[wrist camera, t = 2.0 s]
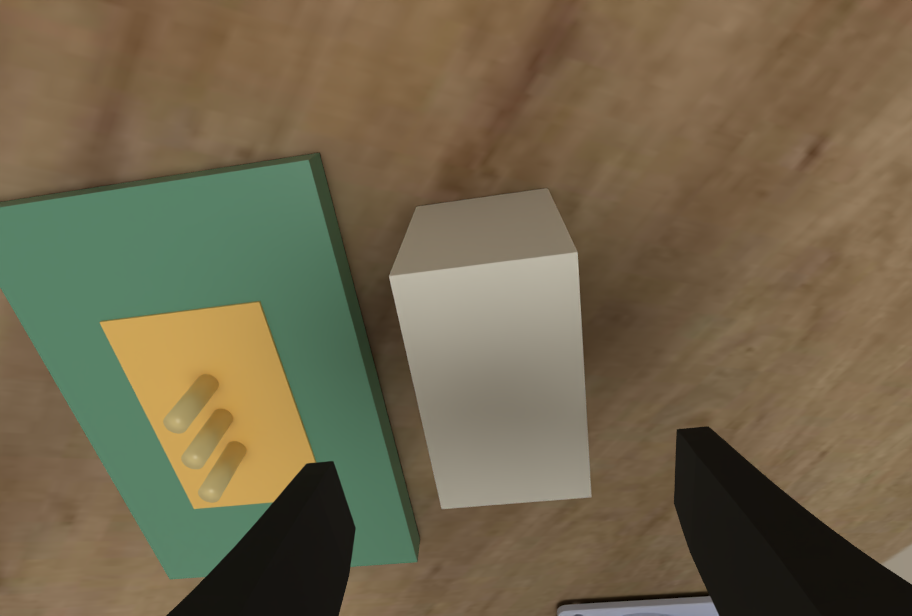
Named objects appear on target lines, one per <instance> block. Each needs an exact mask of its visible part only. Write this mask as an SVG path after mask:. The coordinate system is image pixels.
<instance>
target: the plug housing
mask: <svg viewBox="0 0 912 616" xmlns="http://www.w3.org/2000/svg"><path fill="white" fill-rule="evenodd" d="M389 279H390V283H391V287H392V292H393V296H394V301H395V305H396V310H397V314H398V318H399V323H400V327H401V332H402V336H403V340H404V345H405V349H406V354H407V358H408V363H409V367H410V371H411V376H412V380H413V385H414V389H415V393H416V398H417V402H418V407H419V411H420V416H421V420H422V424H423V429H424V433H425V438H426V442H427V446H428V451H429V455H430V460H431V464H432V469H433V473H434V477H435V482H436V486H437V491H438V495H439V499H440V504H441V508H442V509H449V508H462V507H474V506H487V505H500V504H512V503H525V502H537V501H550V500H562V499H575V498H587V497H591V482H590V464H589V447H588V429H587V411H586V393H585V375H584V358H583V340H582V322H581V304H580V286H579V269H578V252H577V250H576V248H575V246H574V243H573V241H572V239H571V237H570V235H569V233H568V231H567V228H566V226H565V224H564V222H563V220H562V218H561V216H560V213H559V211H558V209H557V207H556V205H555V203H554V201H553V198H552V196H551V194H550V192H549V190H548V188H545V189H537V190H530V191H523V192H516V193H509V194H502V195H495V196H488V197H481V198H474V199H466V200H459V201H452V202H445V203H438V204H431V205H424V206H417V207H416V209H415V211H414V214H413V216H412V219H411V222H410V224H409V227H408V229H407V232H406V234H405V237H404V239H403V242H402V244H401V247H400V249H399V252H398V254H397V257H396V260H395V262H394V265H393V267H392V270H391V272H390V275H389Z"/></svg>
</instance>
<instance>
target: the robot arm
mask: <svg viewBox="0 0 912 616" xmlns="http://www.w3.org/2000/svg"><path fill="white" fill-rule="evenodd" d="M674 505H675V508H676V511H677V514H678V517H679V520H680V524H681V527H682V530H683V533H684V536H685V539H686V542H687V545H688V547H689V550H690V553H691V555H692V558H693V560H694V562H695V564H696V567H697V569H698V571H699V573H700V575H701V578H702V580H703V582H704V584H705V586H706V589H707V591H708V593H709V595H710V596H703V597H686V598H670V599H653V600H636V601H619V602H602V603H585V604H568V605H562V606H560V607H559V608H558V609H557V616H912V584H910V583H908V582H907V581H906V580H904V579H902V578H901V577H899V576H898V575H896V574H895V573H893V572H892V571H890V570H889V569H887V568H886V567H884V566H883V565H881V564H880V563H878V562H877V561H875V560H874V559H872V558H871V557H869V556H868V555H867V554H865V553H864V552H862V551H861V550H859V549H858V548H857V547H855V546H854V545H852V544H851V543H850V542H848V541H847V540H846V539H844V538H843V537H842V536H840V535H839V534H838V533H836V532H835V531H834V530H832V529H831V528H829V527H828V526H827V525H825V524H824V523H823V522H822V521H820V520H819V519H818V518H816V517H815V516H814V515H813V514H811V513H810V512H809V511H807V510H806V509H805V508H804V507H802V506H801V505H800V504H799V503H798V502H796V501H795V500H794V499H793V498H791V497H790V496H789V495H788V494H786V493H785V492H784V491H783V490H781V489H780V488H779V487H778V486H777V485H775V484H774V483H773V482H772V481H771V480H769V479H768V478H767V477H766V476H765V475H764V474H762V473H761V472H760V471H759V470H758V469H757V468H755V467H754V466H753V465H752V464H751V463H750V462H748V461H747V460H746V459H745V458H744V457H743V456H742V455H740V454H739V453H738V452H737V451H736V450H735V449H734V448H732V447H731V446H730V445H729V444H728V443H727V442H726V441H725V440H723V439H722V438H721V437H720V436H719V435H718V434H717V433H715V432H714V431H713V430H712V429H711V428H709V427H697V428H687V429H677V438H676V464H675V491H674ZM355 530H356V527H355V524H354V521H353V518H352V515H351V512H350V509H349V506H348V503H347V500H346V497H345V494H344V491H343V488H342V485H341V482H340V479H339V476H338V473H337V470H336V467H335V464H334V461H327V462H316V463H307V464H306V465H305V466H304V467H303V468H302V469H301V470H300V471H299V473H298V474H297V475H296V476H295V477H294V478H293V480H292V481H291V482H290V483H289V484H288V485H287V487H286V488H285V489H284V490H283V491H282V493H281V494H280V495H279V496H278V497H277V498H276V500H275V501H274V502H273V503H272V504H271V505H270V507H269V508H268V509H267V510H266V511H265V513H264V514H263V515H262V516H261V517H260V518H259V519H258V521H257V522H256V523H255V524H254V525H253V526H252V527H251V529H250V530H249V531H248V532H247V533H246V534H245V535H244V537H243V538H242V539H241V540H240V541H239V542H238V543H237V544H236V545H235V547H234V548H233V549H232V550H231V551H230V552H229V553H228V554H227V555H226V556H225V557H224V558H223V559H222V560H221V561H220V562H219V563H218V565H217V566H216V567H215V568H214V569H213V570H212V571H211V572H210V573H209V574H208V575H207V576H206V577H205V578H204V579H203V580H202V581H201V582H200V584H199V585H198V586H197V587H196V588H195V589H194V590H193V591H192V592H191V593H190V594H189V595H187V596H186V597H185V598H184V599H183V600H182V601H181V602H180V603H179V604H178V605H177V606H176V607H175V608H174V609H173V610H172V611H171V612H170V613H169V614H167V615H166V616H339V612H340V608H341V604H342V600H343V597H344V593H345V589H346V585H347V581H348V577H349V572H350V566H351V559H352V553H353V545H354V538H355Z"/></svg>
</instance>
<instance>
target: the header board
mask: <svg viewBox="0 0 912 616" xmlns="http://www.w3.org/2000/svg"><path fill="white" fill-rule="evenodd" d="M0 288H1V289H2V291H3V293H4V294H5V296H6V298H7V300H8V301H9V303H10V305H11V307H12V308H13V310H14V312H15V313H16V315H17V317H18V319H19V320H20V322H21V324H22V325H23V327H24V329H25V331H26V332H27V334H28V336H29V338H30V339H31V341H32V343H33V344H34V346H35V348H36V350H37V351H38V353H39V355H40V356H41V358H42V360H43V362H44V363H45V365H46V367H47V369H48V370H49V372H50V374H51V375H52V377H53V379H54V381H55V382H56V384H57V386H58V387H59V389H60V391H61V393H62V394H63V396H64V398H65V400H66V401H67V403H68V405H69V406H70V408H71V410H72V412H73V413H74V415H75V417H76V419H77V420H78V422H79V424H80V425H81V427H82V429H83V431H84V432H85V434H86V436H87V437H88V439H89V441H90V443H91V444H92V446H93V448H94V450H95V451H96V453H97V455H98V456H99V458H100V460H101V462H102V463H103V465H104V467H105V468H106V470H107V472H108V474H109V475H110V477H111V479H112V481H113V482H114V484H115V486H116V487H117V489H118V491H119V493H120V494H121V496H122V498H123V499H124V501H125V503H126V505H127V506H128V508H129V510H130V512H131V513H132V515H133V517H134V518H135V520H136V522H137V524H138V525H139V527H140V529H141V531H142V532H143V534H144V536H145V537H146V539H147V541H148V543H149V544H150V546H151V548H152V549H153V551H154V553H155V555H156V556H157V558H158V560H159V562H160V563H161V565H162V567H163V568H164V570H165V572H166V574H167V575H168V577H169V579H182V578H196V577H206V576H207V575H208V574H209V573H210V572H211V571H212V570H213V569H214V568H215V567H216V566H217V565H218V563H219V562H220V561H221V560H222V559H223V558H224V557H225V556H226V555H227V554H228V553H229V552H230V551H231V550H232V549H233V548H234V547H235V545H236V544H237V543H238V542H239V541H240V540H241V539H242V538H243V537H244V535H245V534H246V533H247V532H248V531H249V530H250V529H251V527H252V526H253V525H254V524H255V523H256V522H257V521H258V519H259V518H260V517H261V516H262V515H263V514H264V513H265V511H266V510H267V509H268V508H269V507H270V505H271V504H272V503H273V502H274V501H275V500H276V498H277V497H278V496H279V495H280V494H281V493H282V491H283V490H284V489H285V488H286V487H287V485H288V484H289V483H290V482H291V481H292V480H293V478H294V477H295V476H296V475H297V474H298V473H299V471H300V470H301V469H302V468H303V467H304V466H305V465H306V464H307V463H316V462H327V461H334V464H335V467H336V470H337V473H338V476H339V479H340V482H341V485H342V488H343V491H344V494H345V497H346V500H347V503H348V506H349V509H350V512H351V515H352V518H353V521H354V524H355V527H356V530H355V538H354V545H353V553H352V559H351V566H350V567H354V566H368V565H382V564H397V563H411V562H417V560H418V552H419V544H420V538H419V534H418V530H417V526H416V523H415V519H414V515H413V511H412V507H411V503H410V499H409V496H408V492H407V488H406V484H405V480H404V476H403V473H402V469H401V465H400V461H399V457H398V453H397V449H396V446H395V442H394V438H393V434H392V430H391V426H390V423H389V419H388V415H387V411H386V407H385V403H384V399H383V396H382V392H381V388H380V384H379V380H378V376H377V373H376V369H375V365H374V361H373V357H372V353H371V349H370V346H369V342H368V338H367V334H366V330H365V326H364V323H363V319H362V315H361V311H360V307H359V303H358V299H357V296H356V292H355V288H354V284H353V280H352V276H351V273H350V269H349V265H348V261H347V257H346V253H345V249H344V246H343V242H342V238H341V234H340V230H339V226H338V223H337V219H336V215H335V211H334V207H333V203H332V199H331V196H330V192H329V188H328V184H327V180H326V176H325V173H324V169H323V165H322V161H321V157H320V153H314V154H308V155H301V156H295V157H288V158H282V159H275V160H269V161H262V162H256V163H249V164H243V165H237V166H230V167H224V168H217V169H211V170H204V171H198V172H191V173H185V174H178V175H172V176H165V177H159V178H152V179H146V180H140V181H133V182H127V183H120V184H114V185H107V186H101V187H94V188H88V189H81V190H75V191H68V192H62V193H56V194H49V195H43V196H36V197H30V198H23V199H17V200H10V201H4V202H0Z"/></svg>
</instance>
